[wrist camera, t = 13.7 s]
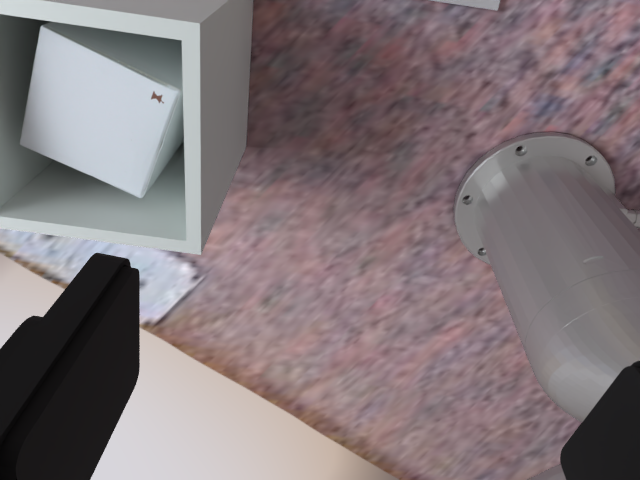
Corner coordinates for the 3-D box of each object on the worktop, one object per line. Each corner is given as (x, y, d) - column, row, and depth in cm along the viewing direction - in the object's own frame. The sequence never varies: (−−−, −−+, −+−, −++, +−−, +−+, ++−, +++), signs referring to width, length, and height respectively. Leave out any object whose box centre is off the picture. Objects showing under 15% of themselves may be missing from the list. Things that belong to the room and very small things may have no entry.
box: (254, -21, 34) (199, 23, 21) (246, 147, 41) (201, 254, 28) (71, -48, 33) (-93, -20, 21) (94, 126, 40) (-20, 225, 28)
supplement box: (133, -17, 34) (38, 17, 24) (233, 37, 36) (185, 92, 26) (105, 79, 38) (13, 145, 28) (197, 124, 40) (143, 203, 29)
